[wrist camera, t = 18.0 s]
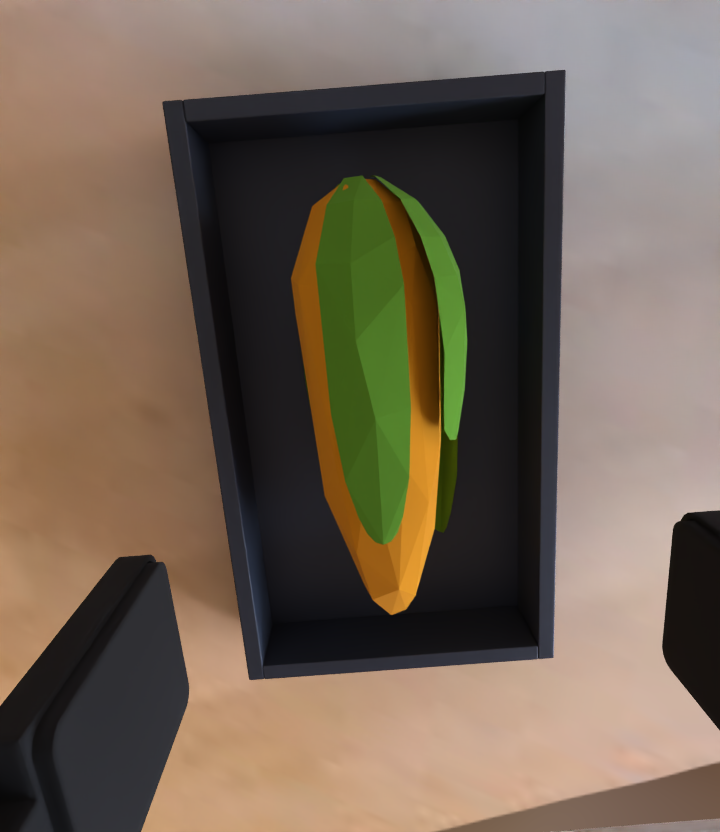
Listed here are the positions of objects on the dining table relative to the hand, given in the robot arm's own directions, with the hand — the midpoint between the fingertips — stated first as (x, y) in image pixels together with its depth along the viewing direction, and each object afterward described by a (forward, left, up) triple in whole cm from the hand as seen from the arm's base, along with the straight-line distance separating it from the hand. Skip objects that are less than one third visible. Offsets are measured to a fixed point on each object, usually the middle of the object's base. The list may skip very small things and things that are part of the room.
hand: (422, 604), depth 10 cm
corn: (0, 0, -18) cm, 18 cm away
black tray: (0, 0, -19) cm, 19 cm away
